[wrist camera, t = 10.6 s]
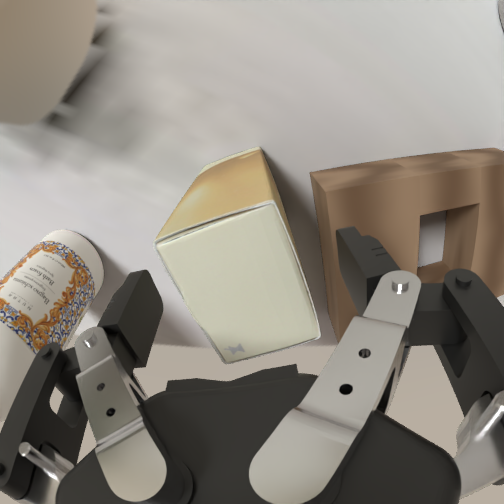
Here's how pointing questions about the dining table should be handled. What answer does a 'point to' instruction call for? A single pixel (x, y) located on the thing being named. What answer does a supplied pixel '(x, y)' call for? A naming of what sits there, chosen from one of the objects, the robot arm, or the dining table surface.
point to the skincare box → (238, 261)
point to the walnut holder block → (414, 216)
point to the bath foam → (44, 304)
